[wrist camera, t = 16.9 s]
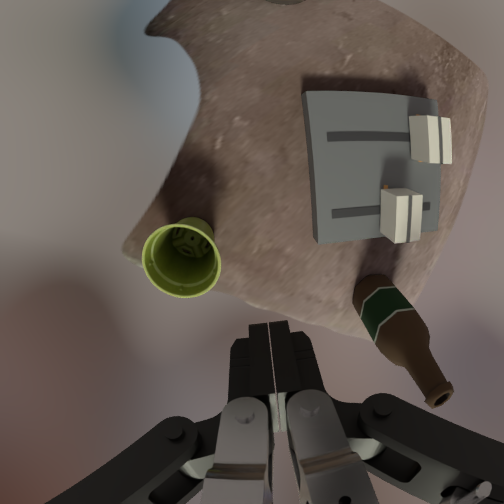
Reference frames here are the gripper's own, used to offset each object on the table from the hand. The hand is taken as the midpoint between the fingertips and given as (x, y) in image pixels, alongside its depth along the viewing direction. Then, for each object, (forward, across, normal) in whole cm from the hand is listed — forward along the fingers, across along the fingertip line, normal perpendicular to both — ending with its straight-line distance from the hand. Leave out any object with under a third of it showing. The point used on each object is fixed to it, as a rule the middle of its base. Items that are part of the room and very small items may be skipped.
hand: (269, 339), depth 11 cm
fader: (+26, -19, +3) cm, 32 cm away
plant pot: (+29, +9, +5) cm, 31 cm away
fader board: (+29, -18, -3) cm, 34 cm away
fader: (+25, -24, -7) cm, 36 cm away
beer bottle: (+29, -18, +18) cm, 39 cm away
